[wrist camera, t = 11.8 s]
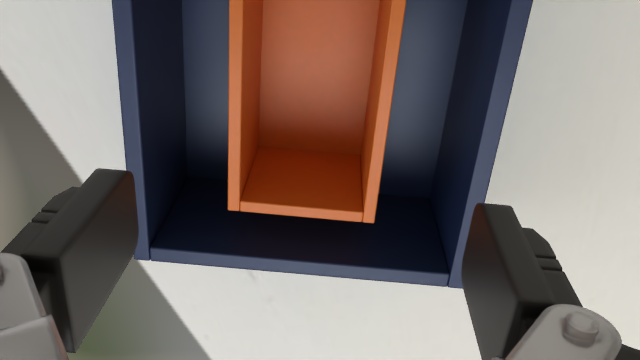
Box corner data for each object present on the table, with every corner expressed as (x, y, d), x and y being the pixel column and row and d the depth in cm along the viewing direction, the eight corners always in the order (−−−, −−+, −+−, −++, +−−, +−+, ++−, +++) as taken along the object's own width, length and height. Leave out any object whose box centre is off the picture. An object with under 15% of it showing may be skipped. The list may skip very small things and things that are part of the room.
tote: (499, -97, 24) (554, -89, 18) (439, 205, 30) (464, 289, 24) (165, -126, 24) (99, -129, 18) (177, 182, 30) (133, 260, 24)
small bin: (397, -54, 24) (412, -36, 19) (369, 160, 29) (374, 223, 23) (255, -67, 24) (229, -53, 19) (249, 150, 29) (227, 210, 23)
